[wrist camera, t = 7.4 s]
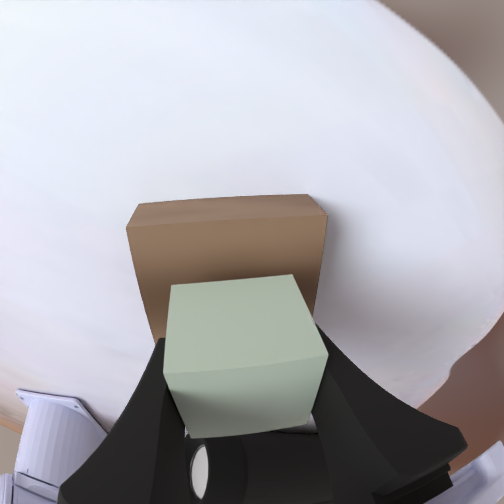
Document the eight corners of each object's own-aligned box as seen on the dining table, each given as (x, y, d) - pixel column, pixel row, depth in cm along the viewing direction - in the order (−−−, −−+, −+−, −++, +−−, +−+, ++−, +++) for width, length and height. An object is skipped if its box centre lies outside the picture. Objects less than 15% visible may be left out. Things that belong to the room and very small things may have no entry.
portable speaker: (384, 419, 31) (410, 477, 23) (335, 451, 35) (353, 505, 26) (209, 402, 22) (221, 513, 13) (170, 441, 25) (174, 523, 17)
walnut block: (292, 314, 18) (305, 349, 16) (164, 325, 17) (161, 362, 14) (305, 191, 14) (327, 215, 12) (140, 200, 13) (125, 227, 10)
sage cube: (284, 352, 13) (306, 424, 10) (189, 362, 13) (191, 438, 9) (292, 274, 11) (328, 354, 8) (171, 284, 10) (163, 373, 7)
